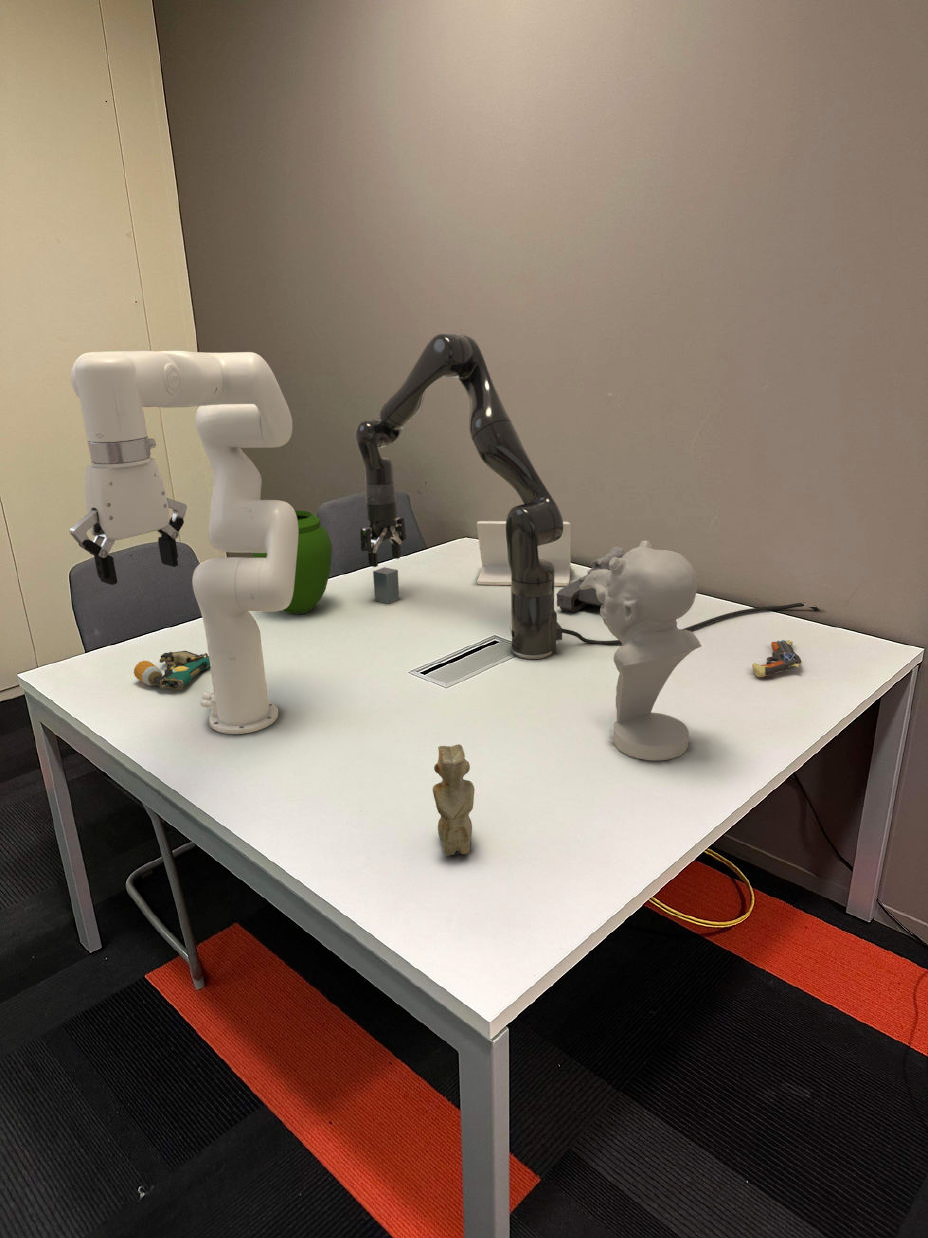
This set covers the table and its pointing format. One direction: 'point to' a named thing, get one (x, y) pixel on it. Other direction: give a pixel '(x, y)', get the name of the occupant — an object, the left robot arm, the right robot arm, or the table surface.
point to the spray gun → (172, 669)
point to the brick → (386, 585)
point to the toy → (576, 598)
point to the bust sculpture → (646, 643)
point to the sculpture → (454, 800)
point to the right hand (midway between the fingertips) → (385, 562)
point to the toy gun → (778, 659)
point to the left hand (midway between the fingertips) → (140, 573)
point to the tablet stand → (497, 561)
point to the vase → (309, 564)
